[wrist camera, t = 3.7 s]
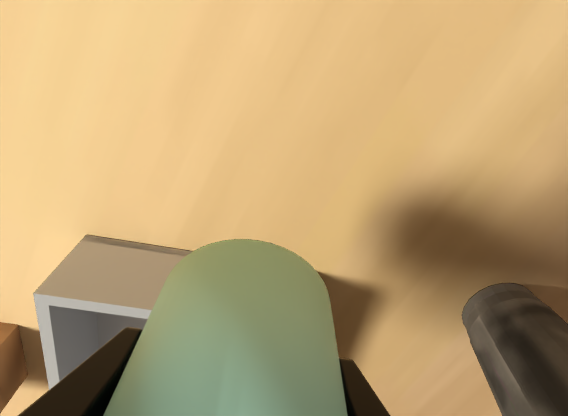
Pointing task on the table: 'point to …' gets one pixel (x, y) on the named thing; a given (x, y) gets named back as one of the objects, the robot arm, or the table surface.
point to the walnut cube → (10, 362)
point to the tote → (98, 298)
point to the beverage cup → (520, 350)
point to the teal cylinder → (236, 339)
